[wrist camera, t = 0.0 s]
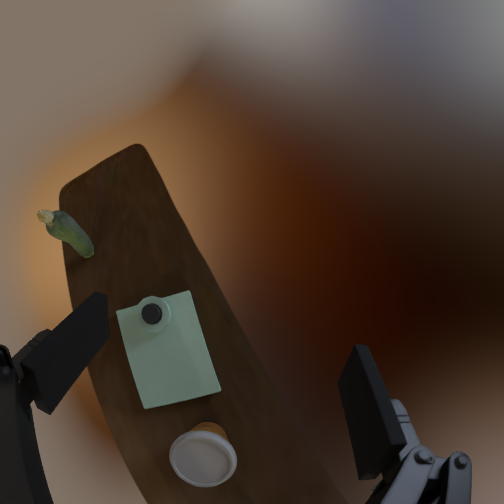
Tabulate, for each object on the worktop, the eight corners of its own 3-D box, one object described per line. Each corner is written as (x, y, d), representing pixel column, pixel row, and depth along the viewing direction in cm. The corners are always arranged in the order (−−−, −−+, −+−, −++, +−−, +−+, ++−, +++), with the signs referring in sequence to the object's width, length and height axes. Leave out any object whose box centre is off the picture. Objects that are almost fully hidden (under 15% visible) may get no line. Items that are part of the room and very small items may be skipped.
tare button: (163, 320, 46) (160, 319, 45) (146, 325, 46) (143, 324, 44) (158, 303, 47) (155, 301, 45) (142, 307, 47) (139, 306, 45)
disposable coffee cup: (171, 442, 42) (155, 467, 31) (199, 403, 45) (189, 420, 33) (218, 468, 41) (214, 499, 30) (246, 430, 44) (250, 455, 32)
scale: (221, 390, 46) (220, 392, 43) (146, 407, 44) (141, 411, 41) (189, 289, 51) (186, 285, 48) (117, 309, 49) (111, 307, 46)
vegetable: (85, 240, 52) (31, 195, 33) (103, 239, 52) (53, 191, 33) (83, 262, 51) (24, 223, 32) (101, 261, 51) (46, 220, 32)
